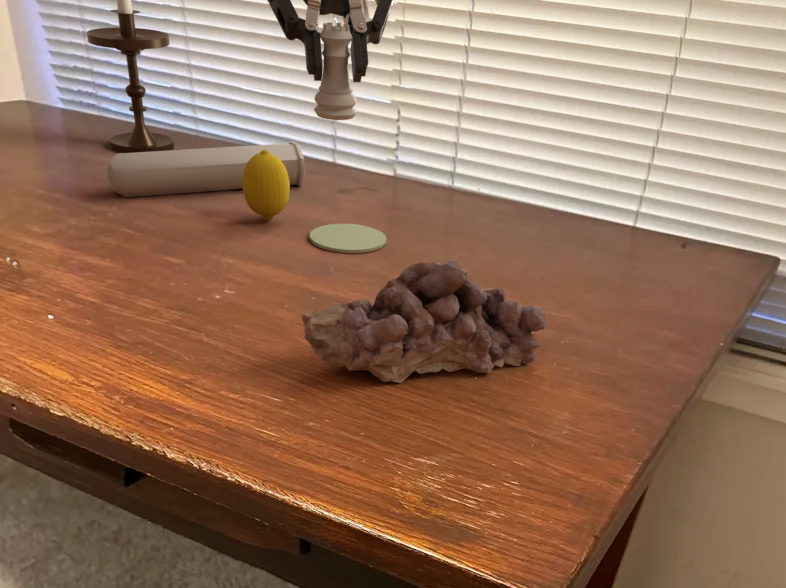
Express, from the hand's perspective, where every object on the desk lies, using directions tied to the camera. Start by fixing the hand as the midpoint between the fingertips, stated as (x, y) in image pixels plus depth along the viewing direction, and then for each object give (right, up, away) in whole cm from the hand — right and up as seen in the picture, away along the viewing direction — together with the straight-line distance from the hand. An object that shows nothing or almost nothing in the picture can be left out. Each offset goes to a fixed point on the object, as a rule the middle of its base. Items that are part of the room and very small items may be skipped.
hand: (338, 75), depth 80 cm
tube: (-19, +1, +28) cm, 34 cm away
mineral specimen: (+8, -30, -7) cm, 32 cm away
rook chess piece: (-1, -2, +4) cm, 5 cm away
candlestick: (-33, +13, +42) cm, 55 cm away
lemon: (-10, -7, +20) cm, 23 cm away
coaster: (0, -10, +16) cm, 19 cm away
